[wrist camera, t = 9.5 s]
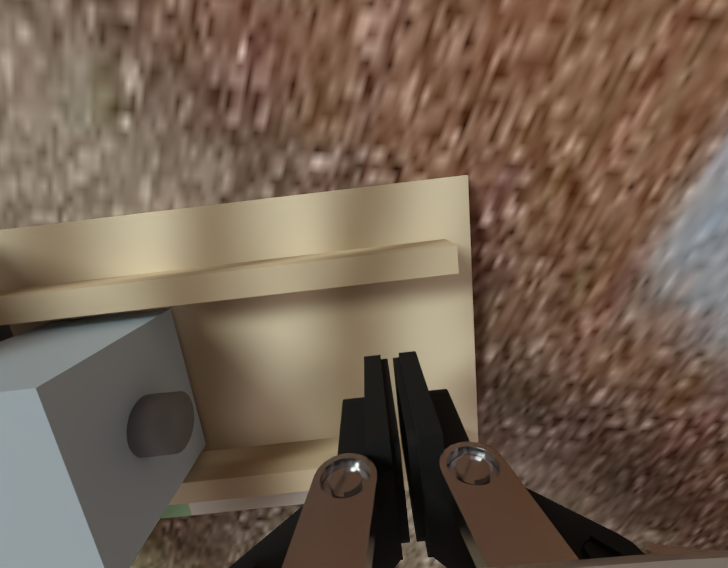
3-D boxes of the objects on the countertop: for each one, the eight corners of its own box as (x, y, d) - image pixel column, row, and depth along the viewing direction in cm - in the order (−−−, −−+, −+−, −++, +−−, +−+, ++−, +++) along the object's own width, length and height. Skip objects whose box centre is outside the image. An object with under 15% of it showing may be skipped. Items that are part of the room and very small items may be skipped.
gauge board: (461, 176, 14) (592, 149, 6) (474, 469, 17) (568, 693, 9) (-77, 239, 14) (-604, 290, 6) (39, 515, 18) (-214, 767, 10)
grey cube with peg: (197, 305, 14) (81, 383, 8) (246, 507, 16) (183, 678, 11) (48, 322, 14) (-172, 411, 8) (118, 520, 16) (-13, 696, 11)
